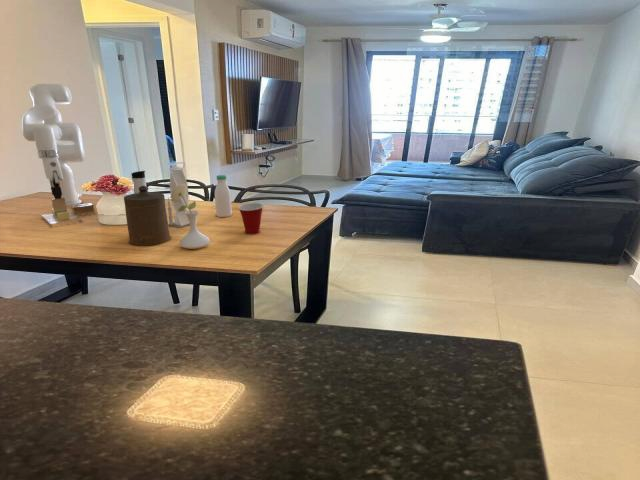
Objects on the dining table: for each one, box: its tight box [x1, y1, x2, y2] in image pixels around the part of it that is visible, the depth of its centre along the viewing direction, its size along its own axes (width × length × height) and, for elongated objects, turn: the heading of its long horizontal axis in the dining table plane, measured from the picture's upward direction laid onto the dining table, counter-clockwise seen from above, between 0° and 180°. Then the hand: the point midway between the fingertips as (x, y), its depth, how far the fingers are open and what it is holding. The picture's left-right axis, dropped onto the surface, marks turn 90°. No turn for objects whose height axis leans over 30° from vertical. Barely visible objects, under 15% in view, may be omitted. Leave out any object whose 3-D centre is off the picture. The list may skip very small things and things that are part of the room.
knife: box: [51, 183, 68, 216], centre depth 174 cm, size 5×2×15 cm, turn 135°
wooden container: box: [123, 185, 171, 247], centre depth 151 cm, size 15×15×22 cm
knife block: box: [70, 202, 95, 216], centre depth 186 cm, size 5×9×5 cm, turn 135°
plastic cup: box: [237, 202, 264, 235], centre depth 164 cm, size 11×11×12 cm
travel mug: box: [130, 170, 148, 194], centre depth 197 cm, size 6×7×20 cm
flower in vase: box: [169, 184, 211, 250], centre depth 143 cm, size 13×11×25 cm
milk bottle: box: [214, 174, 233, 218], centre depth 188 cm, size 8×8×20 cm
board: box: [41, 210, 82, 225], centre depth 178 cm, size 20×12×2 cm, turn 45°
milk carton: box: [167, 161, 190, 229], centre depth 171 cm, size 8×8×28 cm
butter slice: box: [57, 212, 69, 220], centre depth 175 cm, size 2×4×3 cm, turn 135°
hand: (57, 195), depth 173 cm, fingers closed on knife, 1 cm apart
